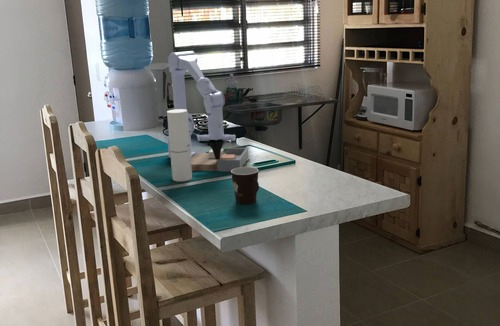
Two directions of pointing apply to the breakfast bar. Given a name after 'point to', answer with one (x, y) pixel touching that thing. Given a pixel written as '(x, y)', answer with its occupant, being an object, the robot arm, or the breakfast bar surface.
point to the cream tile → (211, 154)
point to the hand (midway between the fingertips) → (217, 158)
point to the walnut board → (203, 162)
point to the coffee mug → (245, 184)
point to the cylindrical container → (179, 144)
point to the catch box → (240, 160)
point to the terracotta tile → (228, 157)
